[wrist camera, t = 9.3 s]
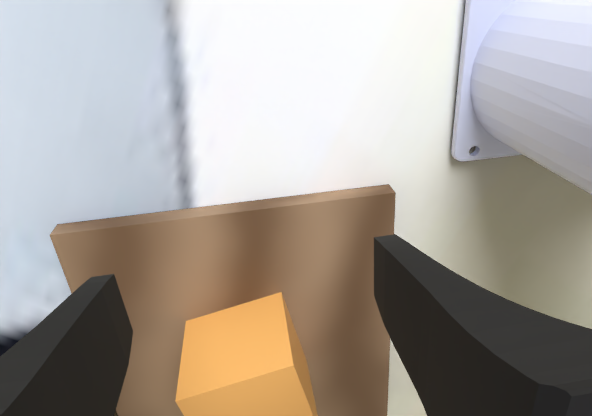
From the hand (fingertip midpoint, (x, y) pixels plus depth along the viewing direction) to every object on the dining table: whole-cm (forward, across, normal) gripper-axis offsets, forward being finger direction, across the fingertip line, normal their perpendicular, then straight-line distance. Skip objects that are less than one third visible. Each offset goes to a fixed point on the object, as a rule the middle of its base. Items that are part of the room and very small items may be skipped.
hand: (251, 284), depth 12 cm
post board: (+9, +1, +10) cm, 14 cm away
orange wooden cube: (+8, +1, +10) cm, 13 cm away
